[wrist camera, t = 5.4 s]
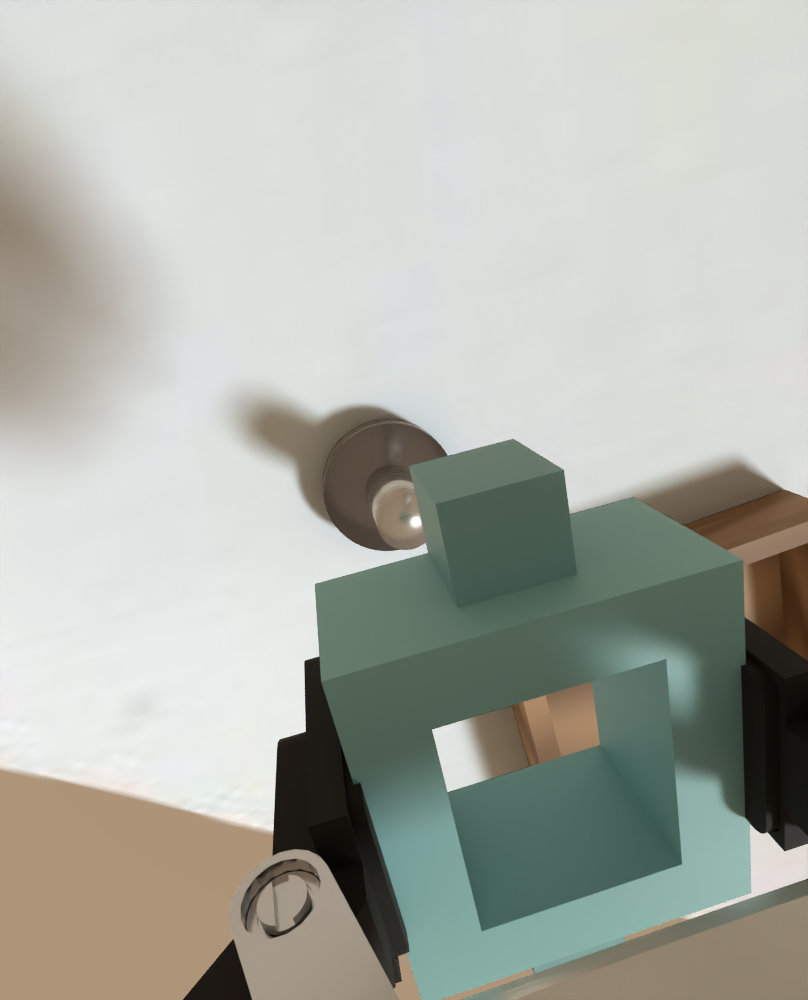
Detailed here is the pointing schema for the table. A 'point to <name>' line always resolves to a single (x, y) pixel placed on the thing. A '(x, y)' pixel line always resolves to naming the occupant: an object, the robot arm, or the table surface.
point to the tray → (767, 601)
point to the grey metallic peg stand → (378, 484)
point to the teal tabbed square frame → (531, 674)
